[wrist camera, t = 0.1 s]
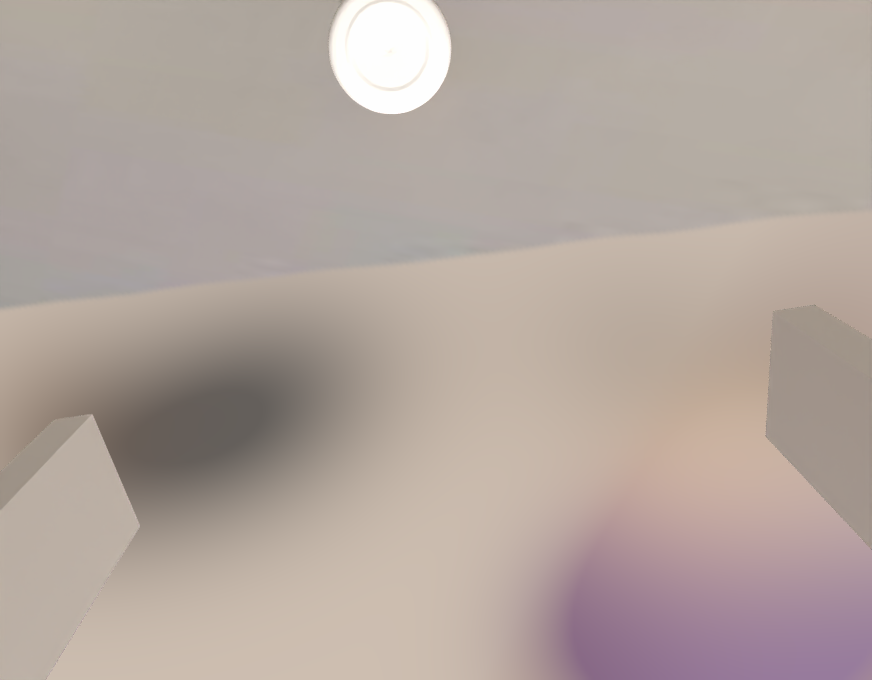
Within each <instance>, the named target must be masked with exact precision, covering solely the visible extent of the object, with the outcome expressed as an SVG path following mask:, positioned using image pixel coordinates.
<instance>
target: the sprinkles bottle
mask: <svg viewBox="0 0 872 680" xmlns="http://www.w3.org/2000/svg"><path fill="white" fill-rule="evenodd" d="M328 52H329V58H330V62H331V66H332V69H333V72H334V74H335V77H336V79H337V80H338V82H339V84H340V85H341V87H342V88H343V89H344V91H345V92H346V93H347V94H348V95H349V96H350V97H351V98H352V99H353V100H354V101H356V102H357V103H358V104H360V105H361V106H363V107H365V108H367V109H369V110H372V111H375V112H379V113H385V114H399V113H404V112H408V111H411V110H413V109H415V108H417V107H419V106H421V105H423V104H424V103H425V102H427V101H428V100H429V99H430V98H431V97H432V96H433V95H434V94H435V93H436V92H437V91H438V89H439V88H440V86H441V84H442V83H443V81H444V79H445V77H446V74H447V71H448V68H449V64H450V58H451V38H450V32H449V28H448V25H447V22H446V20H445V17H444V15H443V14H442V12H441V10H440V8H439V7H438V5H437V4H436V3H435V1H434V0H343V2H342V3H341V4H340V6H339V7H338V9H337V11H336V13H335V15H334V17H333V20H332V23H331V27H330V31H329V38H328Z"/></svg>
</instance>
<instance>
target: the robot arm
mask: <svg viewBox="0 0 872 680" xmlns="http://www.w3.org/2000/svg"><path fill="white" fill-rule="evenodd" d="M767 405H768V406H767V421H766V437H767V438H768V440H769V441H770V442H771V443H772V444H773V445H774V446H775V447H776V448H777V449H778V450H779V451H780V452H781V453H782V455H783V456H784V457H785V458H786V459H787V460H788V461H789V462H790V463H791V464H792V465H793V466H794V467H795V468H796V469H797V471H798V472H799V473H800V474H801V475H802V476H803V477H804V478H805V479H806V480H807V481H808V482H809V483H810V484H811V485H812V486H813V488H814V489H815V490H816V491H817V492H818V493H819V494H820V495H821V496H822V497H823V498H824V499H825V500H826V502H827V503H828V504H829V505H830V506H831V507H832V508H833V509H834V510H835V511H836V512H837V513H838V514H839V515H840V517H841V518H843V520H844V521H845V522H846V523H847V524H848V525H849V526H850V527H851V528H852V529H853V530H854V531H855V533H857V535H858V536H859V537H860V538H861V539H862V540H863V541H864V542H865V543H866V544H867V545H868V546H869V547H870V549H871V550H872V339H871V338H869V337H867V336H866V335H864V334H862V333H861V332H859V331H857V330H856V329H854V328H852V327H851V326H849V325H847V324H846V323H844V322H842V321H841V320H839V319H837V318H836V317H834V316H832V315H831V314H829V313H827V312H826V311H824V310H822V309H821V308H819V307H817V306H816V305H810V306H803V307H797V308H791V309H784V310H777V311H773V320H772V337H771V354H770V371H769V387H768V404H767ZM139 527H140V525H139V523H138V520H137V518H136V515H135V513H134V511H133V509H132V506H131V504H130V502H129V499H128V497H127V495H126V492H125V490H124V487H123V485H122V483H121V480H120V478H119V476H118V473H117V471H116V468H115V466H114V464H113V461H112V459H111V457H110V455H109V452H108V450H107V447H106V445H105V443H104V440H103V438H102V436H101V433H100V431H99V429H98V427H97V424H96V422H95V420H94V417H93V415H92V414H88V415H82V416H76V417H69V418H62V419H56V420H53V421H52V423H50V424H49V425H48V426H47V427H46V428H45V429H44V430H43V431H42V432H41V433H40V434H39V435H38V436H37V437H36V438H35V439H34V440H33V441H32V442H30V443H29V444H28V445H27V446H26V447H25V448H24V449H23V450H22V451H21V452H20V453H19V454H18V455H17V456H16V457H15V458H14V459H13V460H12V461H11V462H10V463H9V464H8V465H7V466H6V467H4V468H3V469H2V470H1V471H0V680H46V679H47V677H48V675H49V674H50V672H51V671H52V669H53V667H54V666H55V664H56V662H57V661H58V659H59V657H60V656H61V654H62V653H63V651H64V649H65V648H66V646H67V644H68V643H69V641H70V640H71V638H72V636H73V635H74V633H75V631H76V630H77V628H78V626H79V625H80V623H81V622H82V620H83V618H84V617H85V615H86V613H87V612H88V610H89V609H90V607H91V605H92V604H93V602H94V600H95V599H96V597H97V595H98V594H99V592H100V591H101V589H102V587H103V586H104V584H105V582H106V581H107V579H108V578H109V576H110V574H111V573H112V571H113V569H114V568H115V566H116V564H117V563H118V561H119V560H120V558H121V556H122V555H123V553H124V551H125V550H126V548H127V547H128V545H129V543H130V542H131V540H132V538H133V537H134V535H135V533H136V532H137V530H138V529H139Z"/></svg>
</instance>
